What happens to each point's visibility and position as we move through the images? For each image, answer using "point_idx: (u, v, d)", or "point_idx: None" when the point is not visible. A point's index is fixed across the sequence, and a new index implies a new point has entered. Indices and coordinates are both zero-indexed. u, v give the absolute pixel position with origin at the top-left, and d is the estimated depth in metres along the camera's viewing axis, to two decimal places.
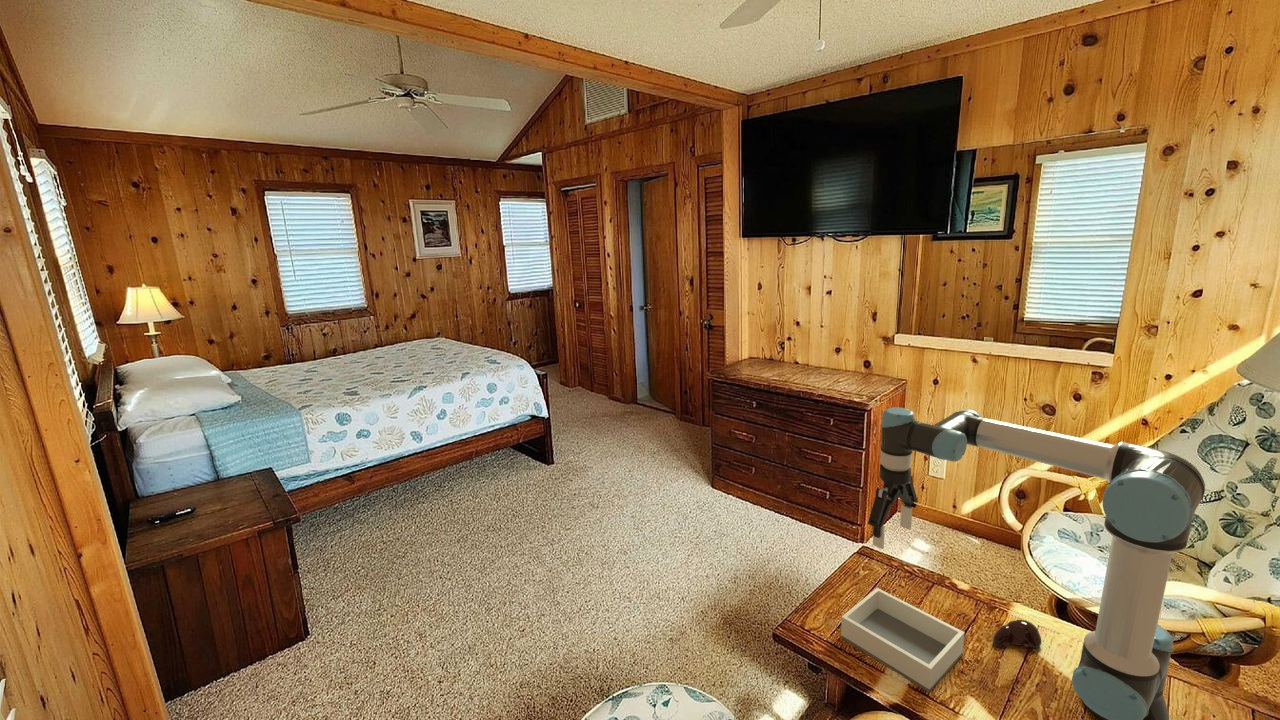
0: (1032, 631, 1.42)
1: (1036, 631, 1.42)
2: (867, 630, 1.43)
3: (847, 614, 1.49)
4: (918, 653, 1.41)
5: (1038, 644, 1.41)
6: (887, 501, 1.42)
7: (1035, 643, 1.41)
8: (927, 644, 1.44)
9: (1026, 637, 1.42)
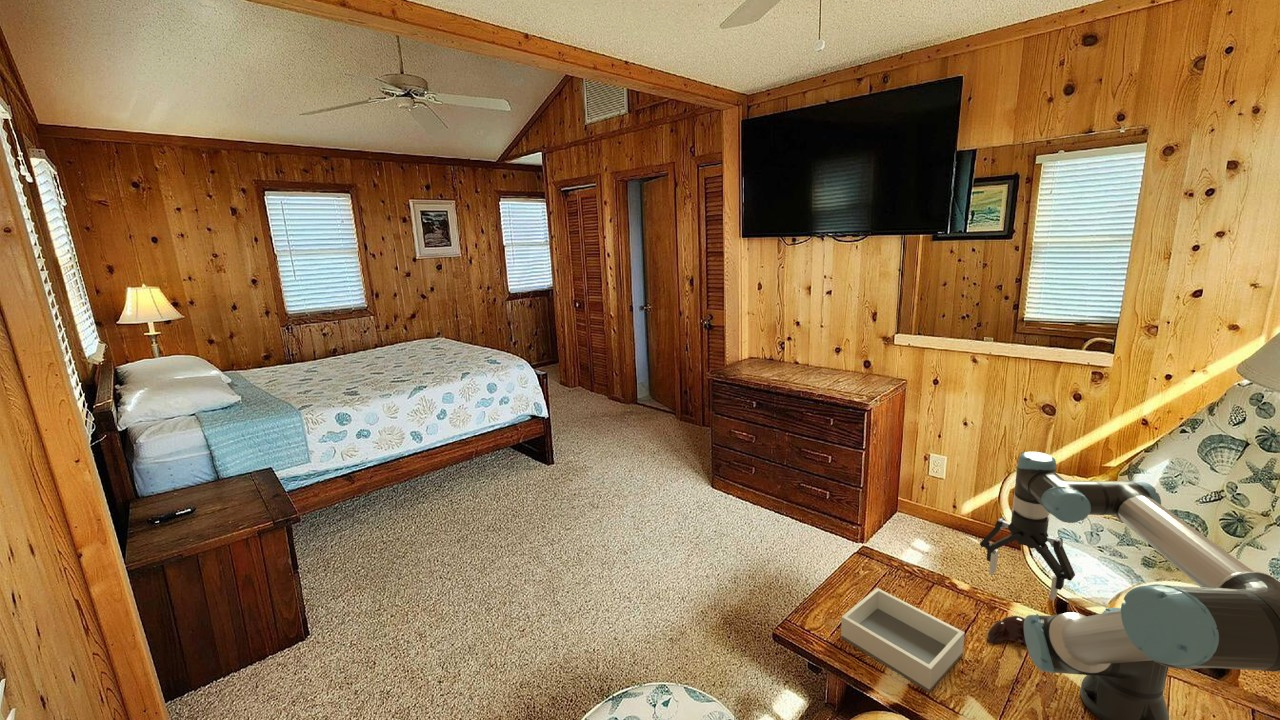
0: None
1: None
2: (867, 630, 1.43)
3: (847, 614, 1.49)
4: (918, 653, 1.41)
5: None
6: (1008, 536, 1.40)
7: None
8: (927, 644, 1.44)
9: (1021, 633, 1.43)
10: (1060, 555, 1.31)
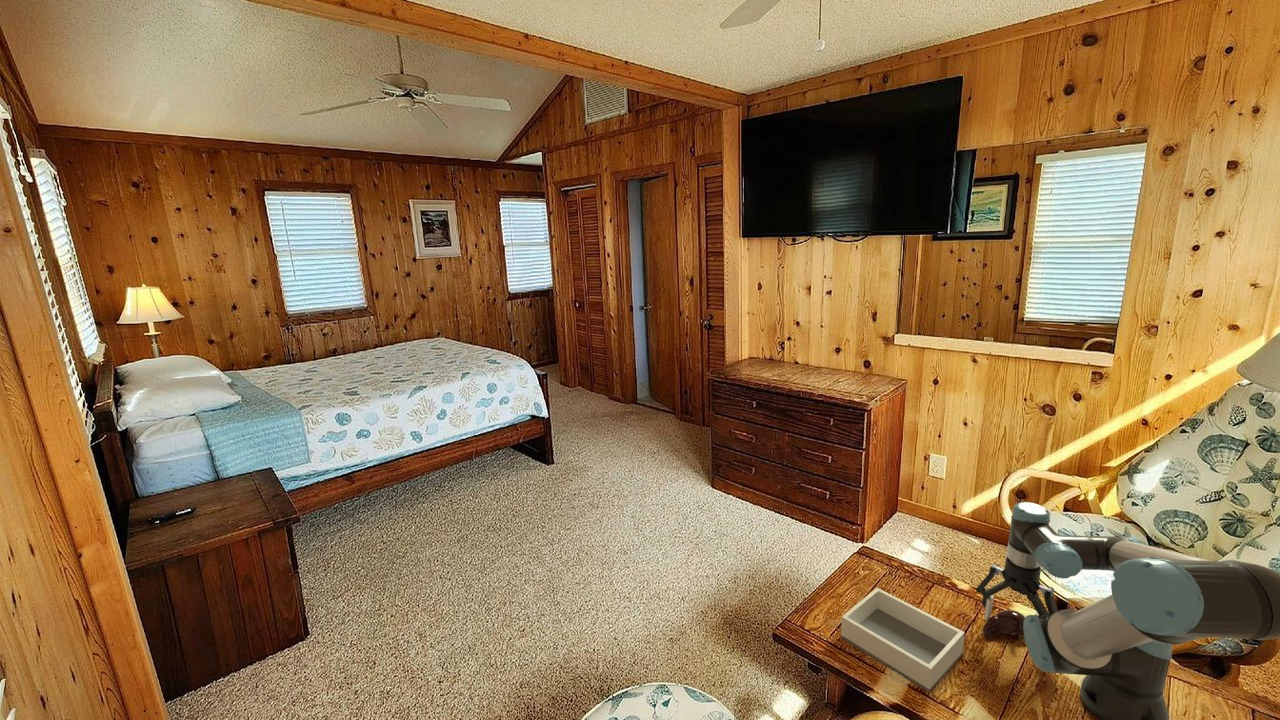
0: (1020, 620, 1.45)
1: None
2: (867, 630, 1.43)
3: (847, 614, 1.49)
4: (918, 653, 1.41)
5: None
6: (1002, 583, 1.44)
7: None
8: (927, 644, 1.44)
9: (1015, 626, 1.44)
10: (1050, 604, 1.35)
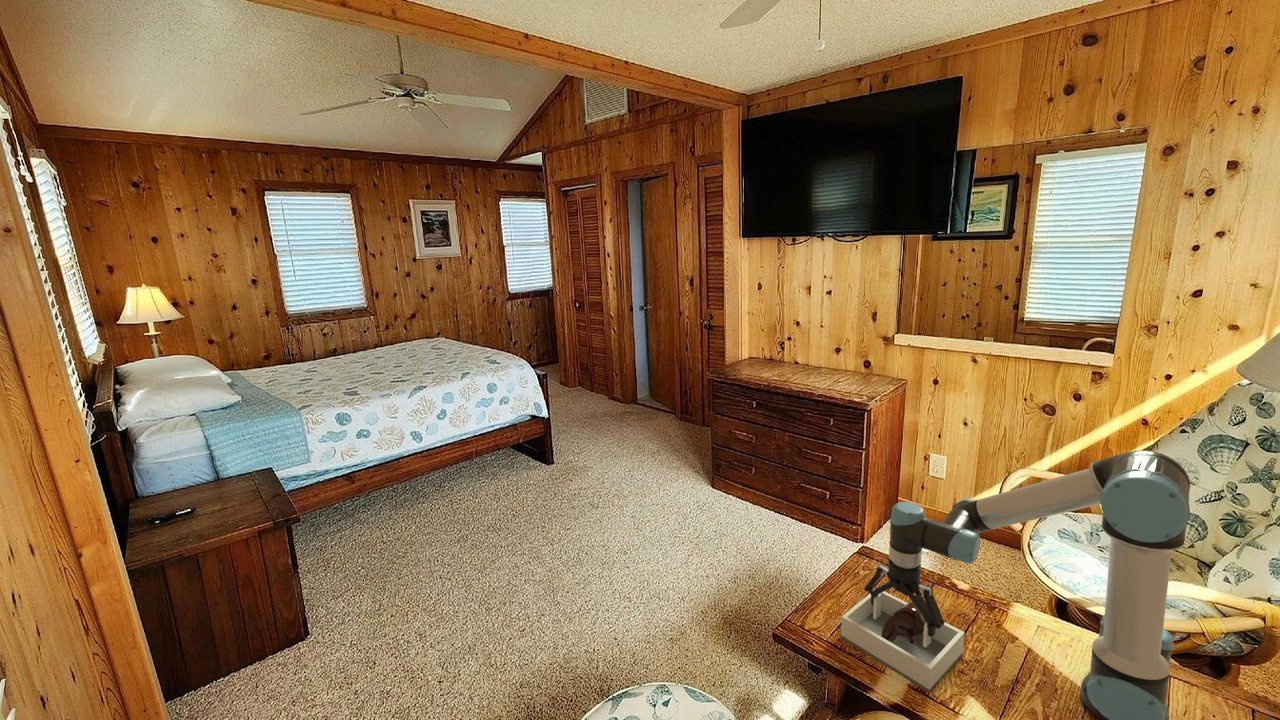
0: (914, 620, 1.42)
1: (918, 619, 1.43)
2: (867, 630, 1.43)
3: (847, 614, 1.49)
4: (918, 653, 1.41)
5: (922, 631, 1.42)
6: (887, 583, 1.44)
7: (919, 631, 1.42)
8: None
9: (910, 628, 1.43)
10: (929, 604, 1.35)
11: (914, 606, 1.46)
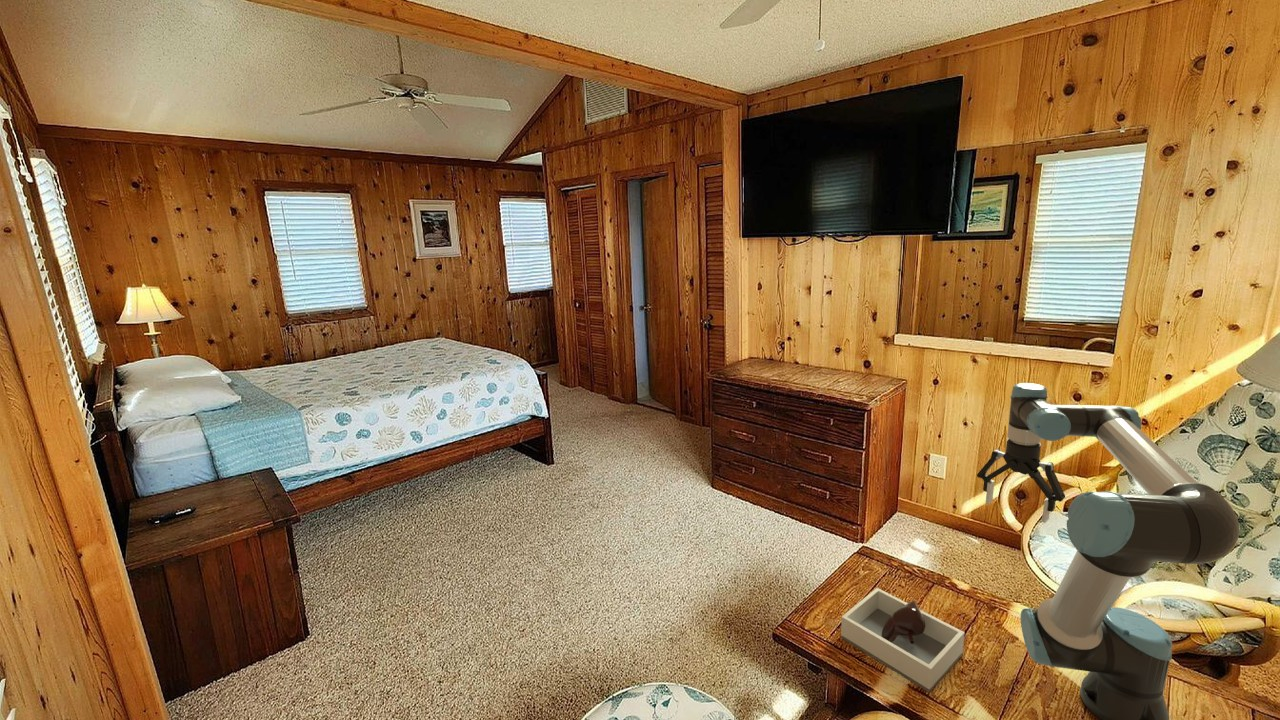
0: (915, 620, 1.42)
1: (918, 619, 1.42)
2: (867, 630, 1.43)
3: (847, 614, 1.49)
4: (918, 653, 1.41)
5: (922, 631, 1.42)
6: None
7: (919, 631, 1.42)
8: (927, 644, 1.44)
9: (910, 628, 1.43)
10: (1051, 478, 1.40)
11: (914, 606, 1.46)
